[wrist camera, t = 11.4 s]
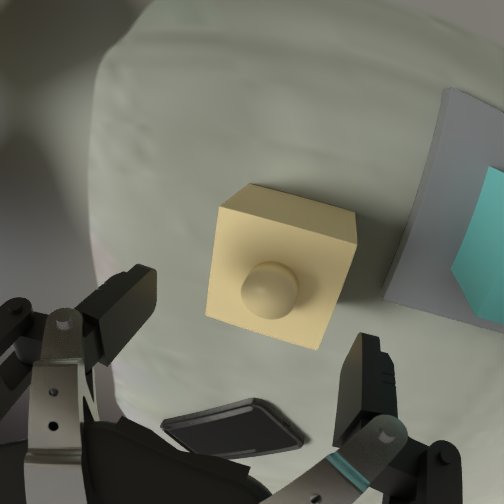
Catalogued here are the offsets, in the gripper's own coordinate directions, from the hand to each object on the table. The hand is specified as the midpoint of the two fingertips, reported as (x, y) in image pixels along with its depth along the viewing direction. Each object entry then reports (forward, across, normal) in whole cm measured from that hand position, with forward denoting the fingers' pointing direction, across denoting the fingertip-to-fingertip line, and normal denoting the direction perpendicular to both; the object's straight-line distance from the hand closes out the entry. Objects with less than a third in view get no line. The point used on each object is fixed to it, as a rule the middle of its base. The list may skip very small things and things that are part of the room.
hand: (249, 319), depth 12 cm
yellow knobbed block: (+8, 0, 0) cm, 8 cm away
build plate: (+7, -12, -5) cm, 15 cm away
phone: (+8, +1, +22) cm, 24 cm away
